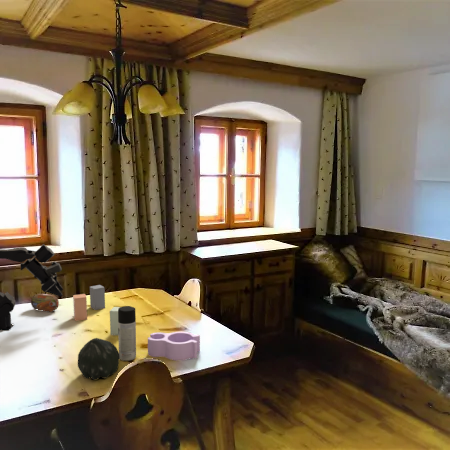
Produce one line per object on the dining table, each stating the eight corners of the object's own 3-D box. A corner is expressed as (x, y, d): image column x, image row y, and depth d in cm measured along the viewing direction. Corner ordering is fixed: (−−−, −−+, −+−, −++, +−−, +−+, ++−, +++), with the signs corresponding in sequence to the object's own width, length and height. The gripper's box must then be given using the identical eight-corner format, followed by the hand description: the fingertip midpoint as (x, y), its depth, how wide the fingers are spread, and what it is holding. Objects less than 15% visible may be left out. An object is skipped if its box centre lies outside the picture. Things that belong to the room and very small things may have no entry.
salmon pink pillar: (87, 319, 224) (86, 297, 222) (75, 320, 221) (74, 298, 220) (85, 315, 229) (84, 293, 227) (74, 317, 226) (73, 295, 225)
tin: (30, 309, 237) (29, 293, 235) (35, 307, 240) (34, 292, 238) (56, 312, 232) (55, 296, 231) (60, 310, 235) (59, 294, 234)
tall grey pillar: (105, 307, 240) (104, 287, 238) (94, 310, 237) (94, 289, 235) (100, 305, 244) (99, 284, 243) (90, 307, 241) (89, 286, 239)
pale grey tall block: (122, 335, 204) (122, 311, 202) (110, 335, 204) (109, 310, 203) (126, 330, 209) (126, 307, 208) (114, 330, 210) (113, 306, 208)
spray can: (128, 352, 187) (127, 304, 184) (140, 357, 183) (139, 308, 180) (115, 358, 182) (113, 308, 179) (126, 363, 177) (125, 312, 174)
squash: (120, 347, 179) (93, 323, 172) (132, 364, 166) (103, 339, 159) (92, 376, 175) (64, 353, 169) (102, 395, 162) (71, 372, 156)
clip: (144, 359, 181) (144, 342, 180) (153, 346, 194) (153, 330, 193) (195, 361, 179) (195, 344, 178) (201, 348, 191) (201, 332, 190)
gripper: (50, 262, 205) (75, 286, 210) (51, 253, 223) (75, 276, 228) (30, 279, 204) (56, 303, 209) (33, 269, 221) (57, 291, 226)
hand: (62, 292), depth 218 cm, fingers open, 9 cm apart
